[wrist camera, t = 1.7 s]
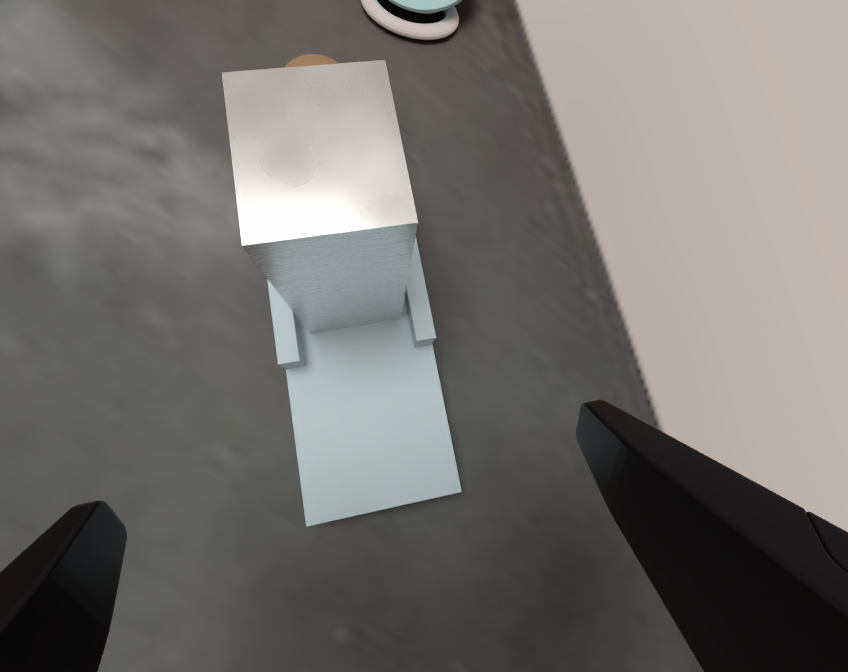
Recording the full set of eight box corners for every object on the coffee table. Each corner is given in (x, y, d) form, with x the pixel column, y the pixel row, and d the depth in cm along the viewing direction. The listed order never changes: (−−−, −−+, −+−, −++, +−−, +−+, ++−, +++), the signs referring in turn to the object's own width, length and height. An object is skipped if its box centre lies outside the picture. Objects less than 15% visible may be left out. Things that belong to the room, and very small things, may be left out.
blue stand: (454, 485, 21) (476, 503, 16) (313, 516, 20) (292, 545, 15) (380, 109, 25) (380, 33, 20) (260, 120, 24) (230, 43, 19)
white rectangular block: (400, 318, 21) (418, 222, 11) (309, 333, 20) (241, 245, 10) (379, 208, 22) (378, 30, 12) (293, 218, 21) (217, 41, 11)
